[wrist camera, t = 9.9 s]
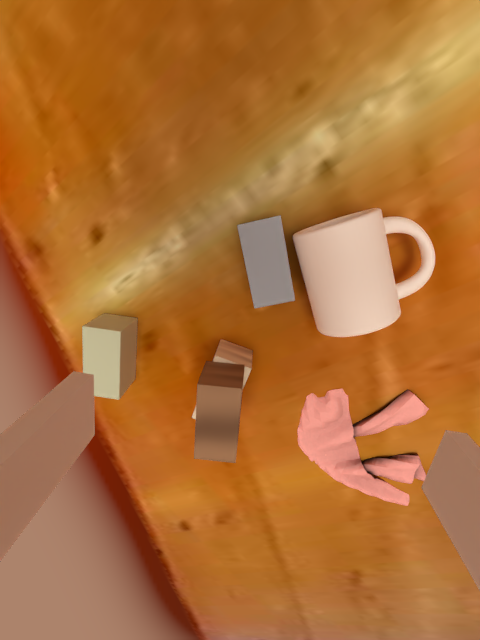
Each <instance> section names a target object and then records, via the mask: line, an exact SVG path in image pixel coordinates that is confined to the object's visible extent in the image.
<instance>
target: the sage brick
mask: <svg viewBox="0 0 480 640" xmlns="http://www.w3.org/2000/svg"><path fill="white" fill-rule="evenodd" d="M137 324H138V318H134V317H127V316H120V315H113V314H107V313H104V314H102V315H100V316H99V317H97V318H95V319H94V320H92V321H90V322H88V323H87V324H85V325H83V326H82V334H83V373H87V374H93V375H94V396H98V397H105V398H111V399H118V400H119V399H120V398H121V397H122V395H123V394H124V393H125V392H126V390H127V389H128V388H129V386H130V385H131V384H132V383H133V381H134V380H135V377H136V351H137Z"/></svg>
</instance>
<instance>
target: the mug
mask: <svg viewBox="0 0 480 640" xmlns="http://www.w3.org/2000/svg"><path fill="white" fill-rule="evenodd" d="M390 233H405V234H409V235H411V236H412V237H414V238H415V240H416V241H417V243H418V246H419V248H420V252H421V259H422V262H421V267H420V269H419V270H418V272H417V273H416V274H415V275H413V276H412V277H410V278H408V279H407V280H405V281H402V282H400V283H397V284H395V279H394V274H393V269H392V263H391V258H390V253H389V248H388V243H387V237H386V234H390ZM293 241H294V245H295V249H296V252H297V256H298V260H299V264H300V267H301V271H302V275H303V278H304V282H305V286H306V290H307V293H308V297H309V301H310V304H311V308H312V312H313V316H314V319H315V323H316V327H317V329H318V331H319V332H320V333H322V334H324V335H327V336H332V337H351V336H358V335H363V334H368V333H371V332H375V331H378V330H380V329H383V328H385V327H387V326H389V325H391V324H392V323H394V322H395V321H396V320H397V319H398V318H399V316H400V314H401V310H400V305H399V299H401V298H404V297H406V296H408V295H411V294H412V293H414V292H416V291H417V290H419V289H420V288H421V287H422V286H424V285H425V283H426V282H427V281H428V280H429V278H430V277H431V275H432V272H433V270H434V266H435V252H434V248H433V245H432V242H431V240H430V238H429V236H428V235H427V233H426V232H425V231H424V230H423V228H422V227H421V226H419V225H418V224H417V223H416V222H414V221H412V220H410V219H408V218H404V217H385V218H383V217H382V211H381V209H379V208H373V209H368V210H364V211H360V212H356V213H353V214H349V215H345V216H342V217H339V218H336V219H332V220H329V221H326V222H323V223H320V224H317V225H314V226H311V227H309V228H306V229H303V230H301V231H299V232H297V233H295V234H294V235H293Z"/></svg>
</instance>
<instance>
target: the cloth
mask: <svg viewBox="0 0 480 640" xmlns="http://www.w3.org/2000/svg"><path fill="white" fill-rule="evenodd" d="M428 410H429V408H427V407H426V406H425V405H424V403H422V402H421V401H420V400H419V399H418V398H417V397H416V396H415V395H414V394H413V393H412V392H411V391H409V390H406V391H405V392H404V393H403V394H401V395H400V396H399V397H398V398H397V399H395V400H394V401H393V402H392V403H391V404H390V405H389V406H388V407H386V408H385V409H383V410H381V411H378V412H376V413H374V414H372V415H370V416H368V417H367V418H365V419H363V420H361V421H359V422H357V423H355V424H353V425H352V422H351V418H350V414H349V403H348V395H346V394H345V393H344V391H343V389H334V390H330V391H328V392H327V394H326V396H325V397H320V398H318V397H317V396H316V395H314V394H313V393H312V394H310V395H308V396H306V401H305V405H304V408H303V409H302V415H301V418H300V424H299V426H298V443H299V446H300V448H301V449H302V451H303V452H304V453H305V455H308V457H309V459H310V460H311V462H312V461H314V460H315V463H316V464H318V465H319V467H320V468H321V469H323V470H324V471H325V472H327V473H328V475H330V476H331V477H332V478H333V479H335V480H337V481H339V482H342V483H343V484H345V485H346V486H348V487H351V488H354V489H358V490H360V491H361V492H363V493H365V494H367V495H370V496H375V497H378V498H380V499H383V500H385V501H388V502H393V503H397V504H402V505H406V506H407V505H408V503H409V495H408V494H406V493H404V492H402V491H400V490H399V489H397V488H395V487H393V486H392V485H390V484H389V483H387V482H385V481H382V480H380V479H377V478H373V477H372V476H371V475H370V474H373V475H376V476H383V477H386V478H388V479H391V480H394V481H398V482H403V483H409V484H411V483H412V482H413V479H414V478H416V479H419V480H422V481H425V478H426V474H425V471H424V469H423V467H422V465H421V461H420V459H419V456H418V454H416V455H395V456H391V457H388V458H369V459H366V460H364V461H362V462H361V460H360V456H359V452H358V447H357V445H356V440H355V439H354V438H353V437H356V436H365V435H370V434H375V433H379V432H381V431H383V430H385V429H388V428H390V427H392V426H398V425H405V424H408V423H410V422H412V421H414V420H417V419H419V418H420V417H421V416H423V415H426V412H427V411H428Z"/></svg>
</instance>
